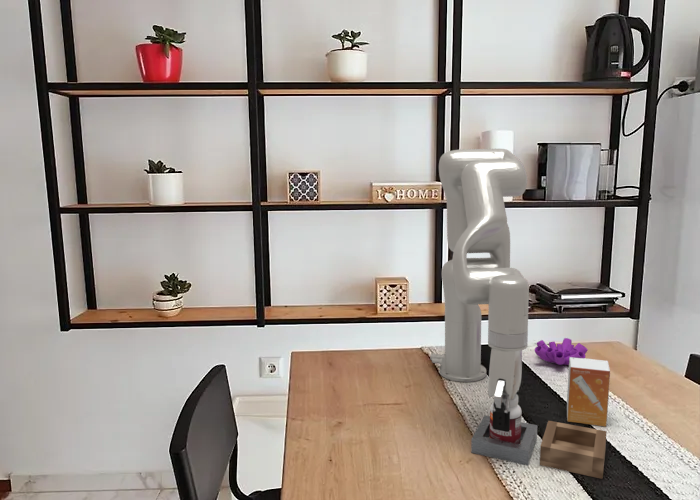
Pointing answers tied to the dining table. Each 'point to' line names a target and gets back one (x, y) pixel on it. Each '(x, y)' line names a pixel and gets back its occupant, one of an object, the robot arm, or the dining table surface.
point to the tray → (573, 449)
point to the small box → (588, 391)
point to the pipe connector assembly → (560, 351)
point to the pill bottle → (515, 423)
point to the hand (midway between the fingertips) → (506, 419)
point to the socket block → (504, 443)
